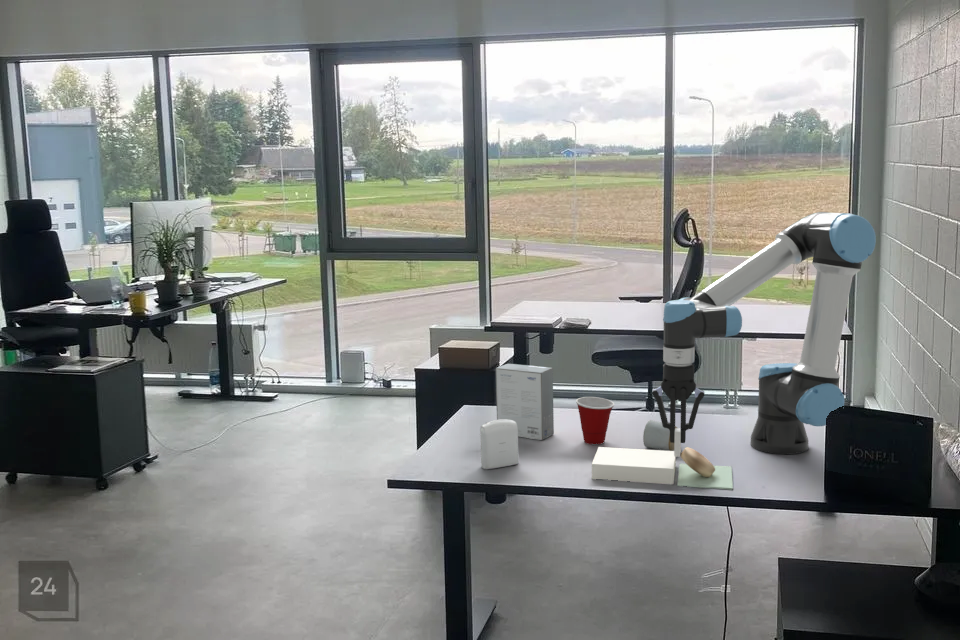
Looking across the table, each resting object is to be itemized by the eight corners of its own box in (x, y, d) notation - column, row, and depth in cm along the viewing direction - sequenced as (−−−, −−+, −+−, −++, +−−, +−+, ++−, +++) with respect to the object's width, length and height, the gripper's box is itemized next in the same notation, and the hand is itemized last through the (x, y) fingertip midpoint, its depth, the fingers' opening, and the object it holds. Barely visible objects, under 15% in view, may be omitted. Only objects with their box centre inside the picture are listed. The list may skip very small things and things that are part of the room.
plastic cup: (610, 449, 252) (610, 407, 250) (572, 446, 256) (571, 404, 254) (617, 437, 262) (617, 397, 260) (580, 434, 266) (580, 394, 264)
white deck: (675, 466, 237) (675, 451, 237) (673, 484, 224) (673, 468, 223) (598, 461, 242) (598, 446, 242) (591, 479, 229) (591, 463, 228)
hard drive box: (554, 434, 267) (554, 367, 264) (542, 441, 261) (541, 373, 257) (509, 427, 275) (508, 362, 272) (495, 433, 269) (494, 367, 266)
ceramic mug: (671, 455, 246) (671, 427, 245) (642, 450, 251) (642, 423, 249) (684, 445, 255) (684, 418, 254) (656, 440, 259) (656, 414, 258)
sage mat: (731, 468, 235) (731, 466, 235) (732, 489, 220) (732, 488, 219) (679, 464, 238) (679, 463, 238) (677, 486, 223) (677, 484, 223)
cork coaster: (710, 470, 232) (715, 464, 232) (710, 481, 224) (715, 475, 223) (681, 449, 233) (685, 443, 233) (679, 460, 225) (684, 453, 224)
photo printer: (484, 470, 237) (484, 424, 235) (478, 466, 241) (477, 420, 239) (521, 465, 241) (520, 419, 239) (514, 460, 245) (513, 415, 242)
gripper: (650, 365, 224) (650, 458, 228) (705, 367, 220) (703, 461, 224) (652, 359, 231) (652, 448, 235) (706, 360, 228) (704, 451, 232)
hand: (677, 454), depth 230 cm, fingers closed
